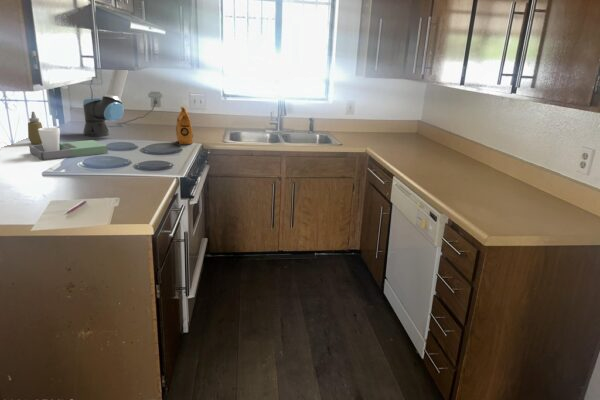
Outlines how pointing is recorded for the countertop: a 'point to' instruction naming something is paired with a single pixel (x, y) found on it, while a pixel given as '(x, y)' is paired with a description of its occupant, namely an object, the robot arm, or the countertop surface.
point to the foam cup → (50, 138)
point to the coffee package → (184, 128)
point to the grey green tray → (70, 150)
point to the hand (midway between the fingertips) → (60, 87)
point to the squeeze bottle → (34, 130)
